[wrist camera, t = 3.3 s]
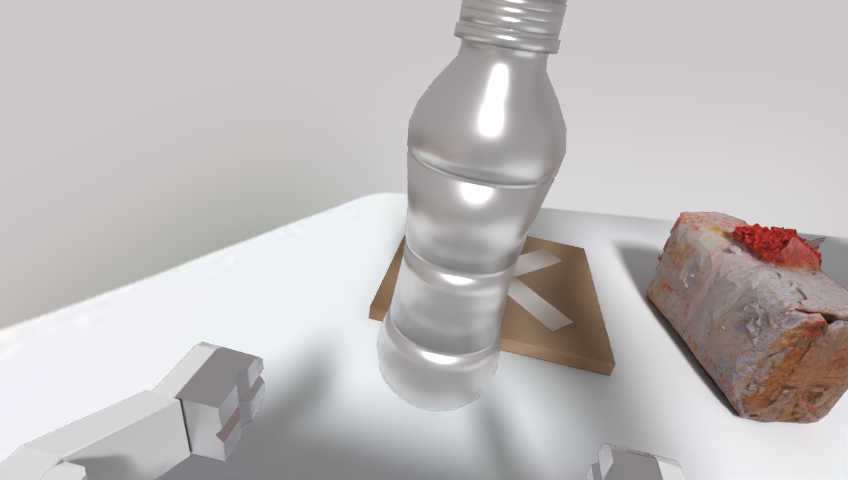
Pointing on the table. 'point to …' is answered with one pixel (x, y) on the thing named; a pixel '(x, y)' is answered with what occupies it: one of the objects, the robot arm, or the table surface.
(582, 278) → the brown board with cross
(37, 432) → the table surface
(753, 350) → the food item
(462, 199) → the plastic bottle
